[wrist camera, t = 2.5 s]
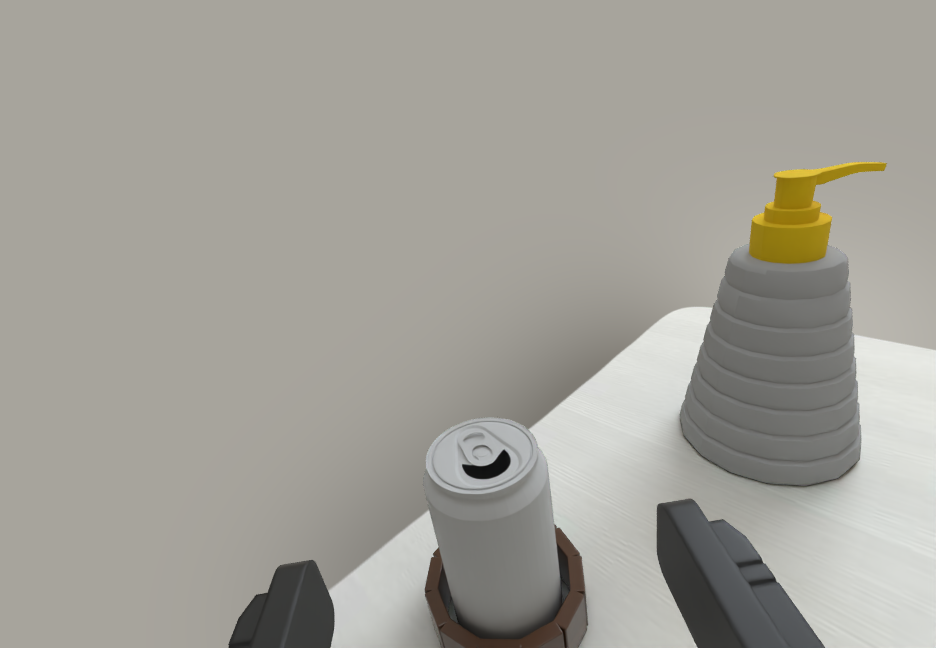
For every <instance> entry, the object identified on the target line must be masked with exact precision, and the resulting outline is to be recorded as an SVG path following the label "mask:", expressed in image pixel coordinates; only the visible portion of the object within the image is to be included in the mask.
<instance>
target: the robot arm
mask: <svg viewBox="0 0 936 648" xmlns="http://www.w3.org/2000/svg"><path fill="white" fill-rule="evenodd" d="M657 555H658V560H659V564H660V567H661V571H662V573H663V576H664V578H665V581H666V583H667V585H668V587H669V589H670V591H671V593H672V595H673V597H674V599H675V601H676V604H677V606H678V608H679V610H680V612H681V614H682V616H683V618H684V620H685V622H686V624H687V627H688V629H689V631H690V633H691V635H692V637H693V639H694V641H695V643H696V645H697V647H698V648H825V647H824V645H823V644H822V642H821V641H820V640H819V638H818V637H817V635H816V634H815V633H814V631H813V630H812V628H811V627H810V626H809V624H808V623H807V621H806V620H805V619H804V617H803V616H802V614H801V613H800V612H799V610H798V609H797V607H796V606H795V605H794V603H793V602H792V600H791V599H790V598H789V596H788V595H787V593H786V592H785V591H784V589H783V588H782V586H781V585H780V584H779V583H777V582H776V579H775V577H774V575H773V574H772V572H771V571H770V570H769V568H768V567H767V565H766V564H764V563H763V561H762V558H761V557H760V556H759V554H758V553H757V551H756V550H755V549H754V547H753V546H752V544H751V543H750V542H749V540H748V539H747V537H746V536H744V535H743V534H742V533H740V532H739V531H738V530H737V529H735V528H734V527H733V526H731V525H730V524H729V523H727V522H726V521H725V520H723V519H722V520H716V521H710V522H709V521H708V520H707V518H706V517H705V515H704V514H703V512H702V511H701V509H700V507H699V506H698V505H697V503H696V502H695V501H694V500H693V499H685V500H679V501H673V502H667V503H661V504H658V506H657ZM333 631H334V607H333V603H332V600H331V597H330V595H329V593H328V590H327V588H326V585H325V583H324V581H323V579H322V576H321V574H320V571H319V569H318V567H317V565H316V563H315V562H314V561H313V560H309V561H302V562H297V563H291V564H284V565H280V566H279V567H278V568H277V569H276V571H275V574H274V576H273V579H272V582H271V585H270V588H269V590H268V593H264V594H258V595H256V596H255V597H254V599H253V600H252V601H251V602H250V604H249V605H248V606H247V608H246V609H245V611H244V612H243V613H242V615H241V616H240V617H239V619H238V621H237V624H236V626H235V629H234V631H233V634H232V637H231V639H230V642H229V648H330V647H331V642H332V637H333Z"/></svg>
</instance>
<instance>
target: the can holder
mask: <svg viewBox="0 0 936 648" xmlns="http://www.w3.org/2000/svg"><path fill="white" fill-rule="evenodd" d="M554 527H555V536H556V545H557V554H558V563H559V572H560V576H561V577H562V579H563V580H564V582H565V583H566V585H567V586H568V587H569V589H570V592H569V593H568V595H567V597H566V599H565V601H564V602H563V604H562V606H561V608H560V610H559V611H558V613H557V615H556V617H555V619H554V620H553V621H552V622H550V623H548V624H546V625H544V626H543V627H541V628H539V629H537V630H536V631H534V632H532V633H530V634H528V635H527V636H525V637H523V638H521V639H480V638H479V637H477V636H476V635H474V634H473V633H471V632H470V631H468V630H467V629H465V628H463V627H462V626H460V625H459V624H457V623H456V622H454V621H453V620H451V619H450V616H449V614H448V610H449V604H450V597H451V593H450V589H449V585H448V581H447V577H446V573H445V569H444V565H443V562H442V558H441V554H440V550H439V547H438V549H437V550H436V551H435V552H434V553H433V556H434V557H432V558H431V562H430V567H429V571H428V576H427V581H426V586H425V593H426V594H425V597H426V601H427V604H428V607H429V611H430V614H431V618H432V621H433V625H434V628H435V630H436V633H437V636H438V638H439V641H440V644H441V646H442V648H578V647H579V644H580V642H581V640H582V638H583V636H584V634H585V632H586V630H587V627H586V626H587V625H588V620H587V607H586V594H585V584H584V575H583V566H582V557H581V556H580V553H579V552H578V550H577V549H576V548H575V547H574V545H573V544H572V543H571V542H570V540H569V539H568V538H567V537H566V535H565V534H564V533H563V532H562V530H561V529H560V528H557V527H556V525H555V524H554Z"/></svg>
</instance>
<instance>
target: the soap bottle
mask: <svg viewBox="0 0 936 648" xmlns="http://www.w3.org/2000/svg"><path fill="white" fill-rule="evenodd" d="M886 164H887V163H882V162H854V163H847V164H841V165H836V166H832V167H827V168H821V169H814V170H808V169H807V170H806V169H800V170H787V171H781V172H777V173H775V174H774V177H775V178H777V183H776V191H775V199H774V202H771V203H768V204H766V206H765V212H764V213H761V214H759V215H756V216H754V218H753V219H752V225H751V235H750V244H746V245H744V246H742V247H739V248H737V249H735V250H734V252H733V253H732V254H731V256H730V257H729V260H728V263H727V266H726V269H725V276H724V278H723V279H722V280H721V284H720V287H719V291H718V295H717V300H716V302H715V303H714V306H713V309H712V313H711V317H710V322H709V324H708V325H707V328H706V332H705V335H704V339H703V340H704V342H703V343H702V345H701V347H700V350H699V354H698V358H697V363H696V364H695V366H694V369H693V373H692V376H691V381H690V383H689V385H688V388H687V392H686V395H685V400H684V402H683V404H682V407H681V411H680V419H681V424H682V429H683V433H684V436H685V437H686V439H687V440H688V441H689V442H690V443H691V444H692V445H693V447H694V448H695V449H696V450H697V451H698V452H699V453H700V454H701V456H703V457H705V458H706V459H708V460H710V461H712V462H713V463H715V464H717V465H718V466H720V467H722V468H724V469H725V470H727V471H729V472H731V473H734V474H737V475H741V476H744V477H747V478H751V479H754V480H758V481H761V482H764V483H769V484H785V485H802V486H807V485H811V484H816V483H820V482H824V481H829V480H833V479H838V478H839V477H840V476H841V475H842V474H844V473H845V472H846V471H847V470H848V469H849V468H851V467H852V466H853V465H854V464H855V463H856V462H857V461H858V460H859V459H860V449H861V425H860V424H859V419H860V415H859V403H858V402H857V401H858V382H857V380H856V358H855V357H854V334H853V333H852V326H853V321H852V308H850V301H851V292H850V282H848V281H847V280H848V274H849V270H848V258H847V256H846V255H845V254H844V253H843V252H841V251H840V250H839V249H838V248H835V247H832V246H829V245H828V239H829V233H830V227H831V221H832V217H831V216H829V215H828V214H826V213H822V212H820V208H821V204H820V203H819V202H816V201H813V196H814V191H815V186H816V185H820V184H824V183H826V182H829V181H832V180H835V179H838V178H841V177H844V176H847V175H850V174H853V173H858V172H865V171H866V172H867V171H884V170H885V167H886Z"/></svg>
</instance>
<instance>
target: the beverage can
mask: <svg viewBox="0 0 936 648" xmlns="http://www.w3.org/2000/svg"><path fill="white" fill-rule="evenodd" d="M423 486H424V491H425V495H426V499H427V503H428V507H429V511H430V515H431V519H432V523H433V527H434V530H435V534H436V538H437V542H438V546H439V550H440V554H441V558H442V562H443V565H444V569H445V573H446V577H447V581H448V585H449V589H450V593H451V597H452V601H453V604H454V608H455V612H456V616H457V620H458V622H459V624H460V626H462V627H463V628H465V629H467V630H468V631H470V632H471V633H473V634H474V635H476V636H477V637H479V638H480V639H521V638H523V637H525V636H527V635H528V634H530V633H532V632H534V631H536V630H537V629H539V628H541V627H543V626H544V625H546V624H548V623H550V622H552V621H553V620H554V619H555V617H556V615H557V613H558V611H559V610H560V608H561V606H562V590H561V581H560V572H559V563H558V554H557V545H556V536H555V527H554V518H553V509H552V500H551V491H550V482H549V473H548V464H547V461H546V458H545V456H544V454H543V453H542V451H541V450H540V449H539V448H538V445H537V441H536V439H535V437H534V436H533V434H532V433H531V432H530V431H529V430H528V429H527V428H526V427H524V426H522V425H521V424H519V423H517V422H514V421H511V420H507V419H503V418H478V419H472V420H469V421H465V422H462V423H460V424H457V425H455V426H453V427H451V428H449V429H448V430H446V431H445V432H443V433H442V434H441V435H440V436H439V437H438V438H437V439H436V440H435V441H434V442H433V443H432V445H431V447H430V448H429V450H428V453H427V456H426V471H425V474H424V479H423Z"/></svg>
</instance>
